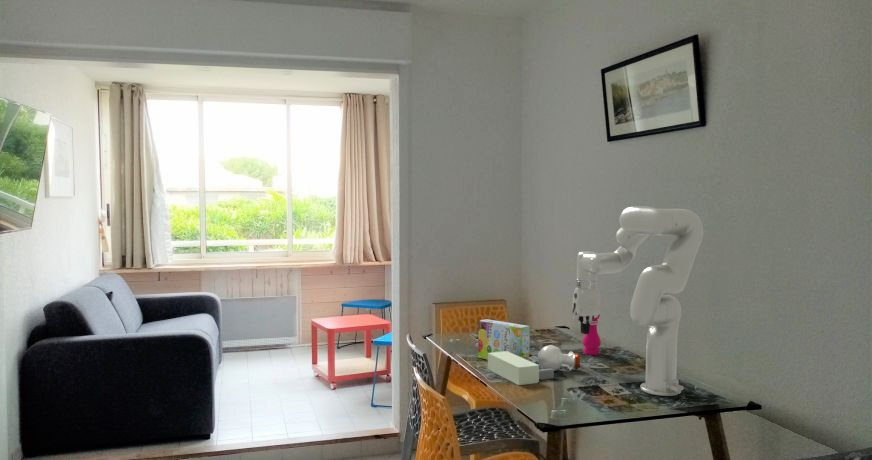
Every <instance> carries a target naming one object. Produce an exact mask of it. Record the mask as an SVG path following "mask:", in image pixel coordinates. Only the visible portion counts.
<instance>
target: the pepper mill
mask: <svg viewBox="0 0 872 460" xmlns="http://www.w3.org/2000/svg"><path fill="white" fill-rule="evenodd" d="M600 316H601V313H600V314H599V315H598V317H596V318H594V319H593V320H592V322H591V323H590V331H589V334H584V336H583V337H582V345H583V346H584V347H583V354H585V355H589V356H596V355H600V348H599V347H600V346H601V344H602V342H601V341H602V340H601V338H600V335H599V333H598V325H599V319H600Z"/></svg>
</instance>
